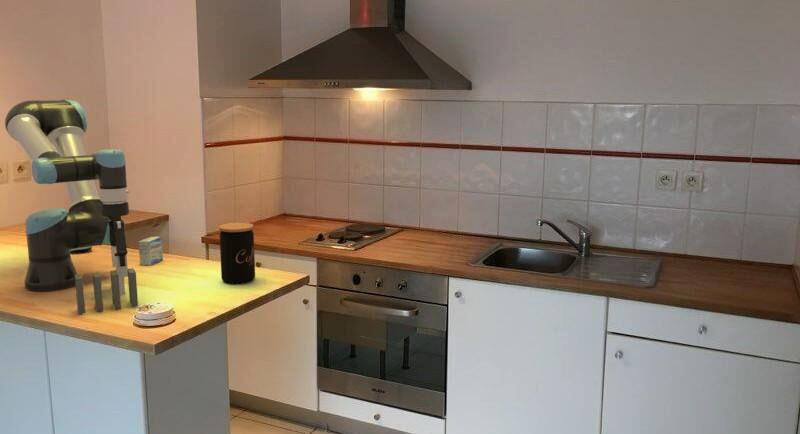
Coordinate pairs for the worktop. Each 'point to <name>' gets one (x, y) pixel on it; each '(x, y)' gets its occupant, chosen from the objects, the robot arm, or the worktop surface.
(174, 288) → the worktop surface
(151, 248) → the medicine box
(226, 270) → the coffee jar
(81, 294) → the domino
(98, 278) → the domino
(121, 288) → the domino
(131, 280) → the domino
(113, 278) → the domino
